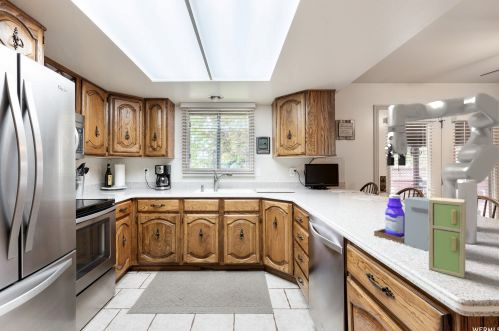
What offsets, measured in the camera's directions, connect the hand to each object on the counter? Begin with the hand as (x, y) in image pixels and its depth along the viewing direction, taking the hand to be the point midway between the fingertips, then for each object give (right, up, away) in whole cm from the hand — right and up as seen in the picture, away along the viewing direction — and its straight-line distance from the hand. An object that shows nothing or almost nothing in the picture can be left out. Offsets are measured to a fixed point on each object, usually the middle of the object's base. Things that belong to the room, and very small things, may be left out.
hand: (396, 165), depth 114 cm
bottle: (-10, -30, -14) cm, 35 cm away
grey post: (+16, -31, -20) cm, 40 cm away
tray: (-10, -31, -14) cm, 35 cm away
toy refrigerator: (-14, -31, -45) cm, 56 cm away
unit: (-5, -31, -27) cm, 41 cm away
